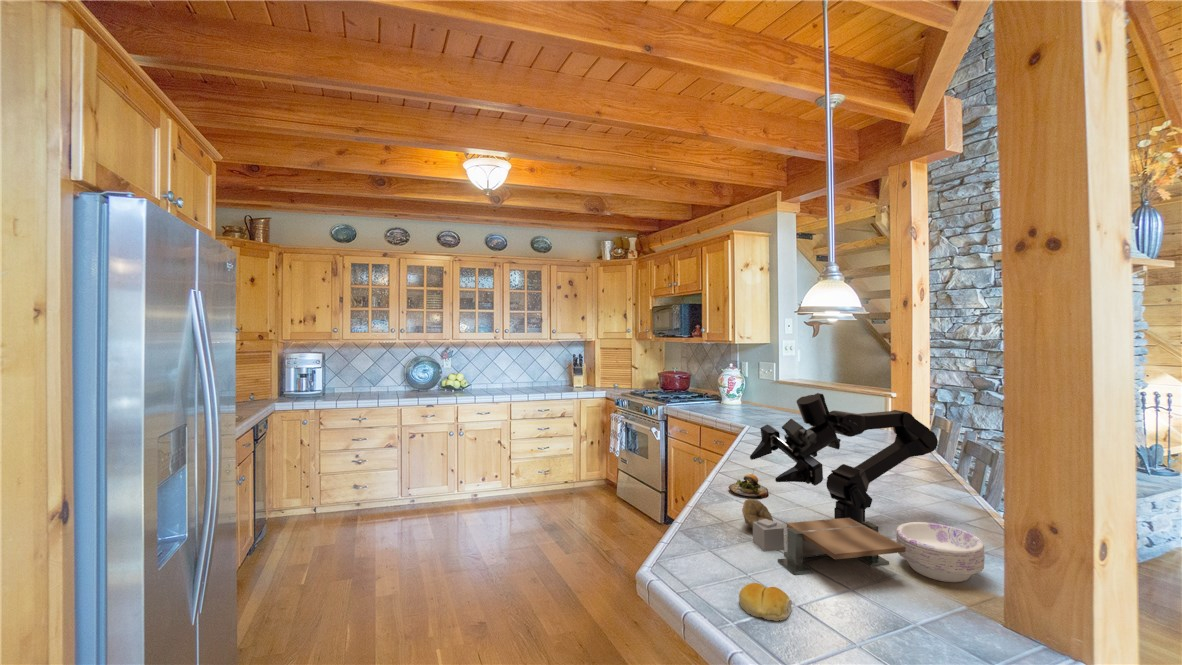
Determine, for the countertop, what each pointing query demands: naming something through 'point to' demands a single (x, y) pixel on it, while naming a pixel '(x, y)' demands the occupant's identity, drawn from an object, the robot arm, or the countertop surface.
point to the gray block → (768, 535)
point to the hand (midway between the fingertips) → (762, 468)
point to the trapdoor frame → (795, 555)
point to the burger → (749, 487)
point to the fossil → (755, 512)
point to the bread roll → (765, 602)
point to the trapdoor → (843, 539)
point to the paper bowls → (941, 551)
